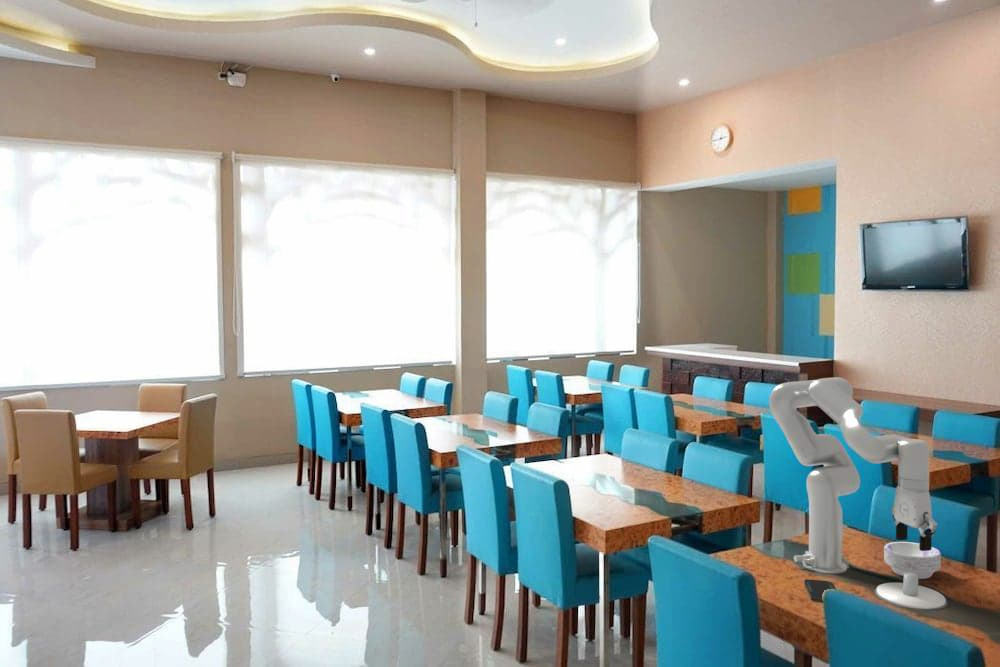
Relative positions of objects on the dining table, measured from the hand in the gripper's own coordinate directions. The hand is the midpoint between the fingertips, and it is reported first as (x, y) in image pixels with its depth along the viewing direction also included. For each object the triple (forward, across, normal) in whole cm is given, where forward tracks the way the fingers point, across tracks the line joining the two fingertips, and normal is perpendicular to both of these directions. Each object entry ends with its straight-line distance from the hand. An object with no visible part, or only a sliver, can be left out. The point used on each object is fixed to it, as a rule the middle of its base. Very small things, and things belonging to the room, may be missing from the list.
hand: (913, 544), depth 211 cm
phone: (+16, -9, -22) cm, 29 cm away
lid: (+15, -1, 0) cm, 15 cm away
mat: (+15, -1, 0) cm, 15 cm away
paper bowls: (+15, -18, +13) cm, 27 cm away
